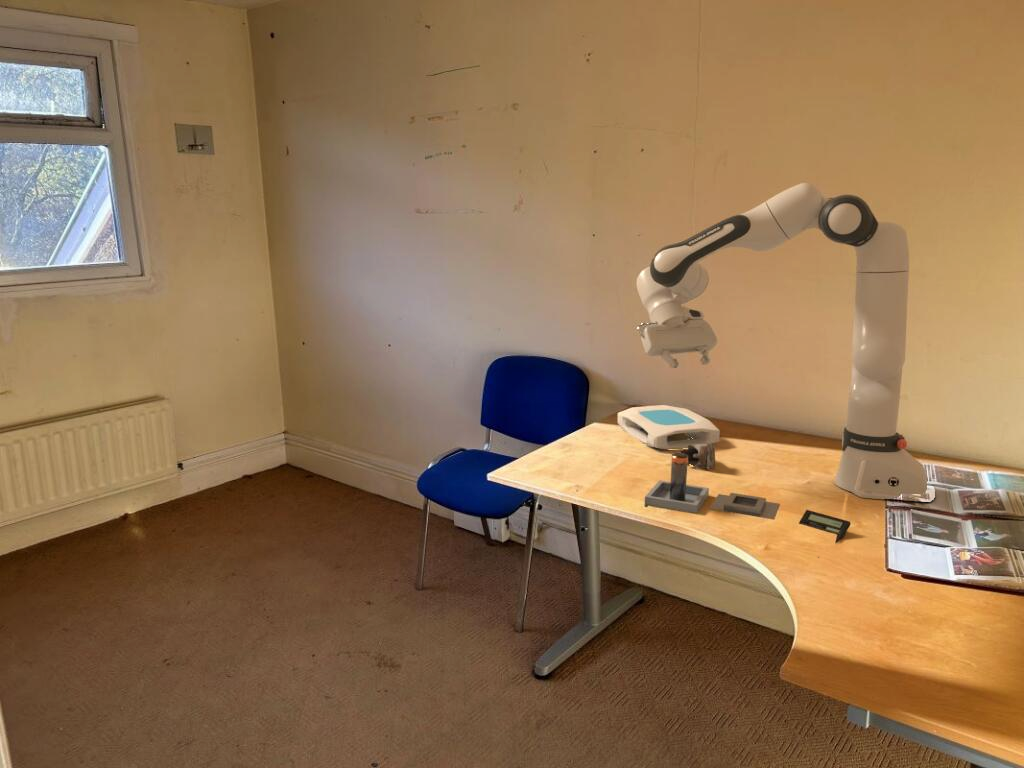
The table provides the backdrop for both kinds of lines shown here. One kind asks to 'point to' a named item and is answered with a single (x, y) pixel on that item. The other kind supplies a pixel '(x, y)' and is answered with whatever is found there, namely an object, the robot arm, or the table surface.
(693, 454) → the caster wheel
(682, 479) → the pin
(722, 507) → the collar plate
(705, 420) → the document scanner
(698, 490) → the tray
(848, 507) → the table surface
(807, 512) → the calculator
